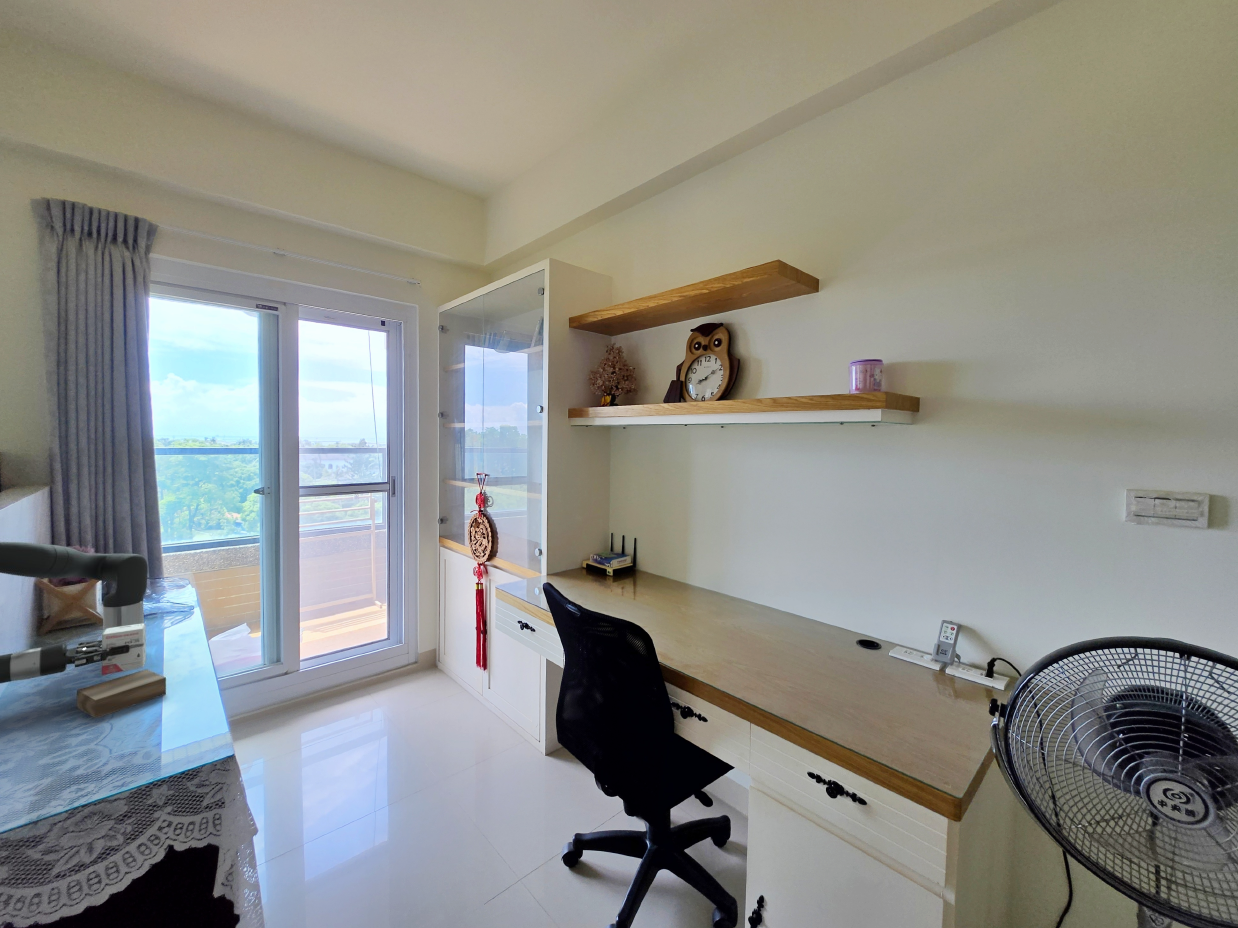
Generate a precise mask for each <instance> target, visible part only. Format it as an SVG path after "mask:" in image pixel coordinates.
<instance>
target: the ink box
mask: <svg viewBox="0 0 1238 928" xmlns="http://www.w3.org/2000/svg"><path fill="white" fill-rule="evenodd" d="M146 625H147V624H146V623H144V624H143V623H142V624H134V625H127V626H120V627H113V628H107V629H106V630H105V631H104V632H102V633H101V640H102V645H101V647H102V649H104V648H110V649H111V648H112V647H117V646H122V645H129V652H128V653H124V654H119V655H114V656H110V657H109V658H107V660H105V661H101V675H102V676H105V675H111V674H115V673H121V672H126V671H131V670H138V669H142V668H144V666H145V664H146V661H147V659H146V657H147V656H146V652H147V650H146V645H147V644H146V638H147V637H146V636H147V635H146V632H147V631H146V630H147V629H146Z"/></svg>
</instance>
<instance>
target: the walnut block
mask: <svg viewBox="0 0 1238 928" xmlns="http://www.w3.org/2000/svg"><path fill="white" fill-rule="evenodd" d="M166 683H167V678H166V677H165V676H163V675H161V674H159V673H157V672H155V671H152V670H150V669H147V668H146V669H143V670H138V671H136V672H133V673H129V674H126V675H123V676H118V677H116V678H113V679H109V680H106V681H102V682H99V683H96V684H92V685H89V686H86V687H83V688H79V689H77V690H76V702H77V703H76V704H77V705H76V706H77V707H76V708H77V709H79V710H80V711H82V712H84V713H86V714H88V715H89V716H91V717H93V718H94V719H97V718H101V717H104V716H105V715H109V714H112V713H115V712H118V711H120V710H124V709H127V708H129V707H132V706H135V705H138V704H140V703H144V702H147V701H150V700H153V699H156V698H158V697H162V696H164V695H167V684H166Z"/></svg>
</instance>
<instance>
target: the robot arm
mask: <svg viewBox="0 0 1238 928" xmlns="http://www.w3.org/2000/svg"><path fill="white" fill-rule="evenodd" d="M148 566H149V565H148V562H147V559H146V557H145V556H143V555H141V554H140V553H139V554H138V553H120V552H119V553H90V552H89V553H88V552H82V551H80V550H78V549H76V548H73V547H70V546H69V547H68V546H63V545H56V544H48V543H35V542H23V541H22V542H18V541H17V542H16V541H0V574H6V575H11V576H17V577H25V578H37V579H40V578H41V579H68V578H84V579H89V580H95V581H100V582H104V583H113V584H114V583H115V584H116V588H115V591H114V592H113V593H109V594H107V595H105V596H104V597H103V600H102V615H103V616H102V625H103V626H102V629H103V632H104V631H105V630H106V629H107V628H113V627H120V626H127V625H134V624H142V623H143V624H145V622H144V620H145V619H144V596H145V594H146V591H147V587H148V572H149V571H148V570H149V569H148V568H149V567H148ZM103 632H102V633H103ZM128 652H129V645H122V646H117V647H112V648H111V649H110V648H104V649H102V639H100V640H92V641H84V642H78V644H77V646H76V647H73V648H68V646H67V643H58V644H53V645H46V646H41V647H36V648H30V649H25V650H20V651H18V652H17V651H16V652H13V653H6V654H1V655H0V684H3V683H4V684H5V683H9V682H10V683H11V682H17V681H24V680H30V679H36V678H41V677H45V676H49V675H50V676H51V675H55V674H59V673H61V674H62V673H65V672H66V671H67V667H68V665H73V664H74V668H81V667H84V666H88V665H93V664H97V663H100V662H101V663H102V661H105V660H107V658H109V657H110V656H114V655H119V654H124V653H128Z"/></svg>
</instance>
